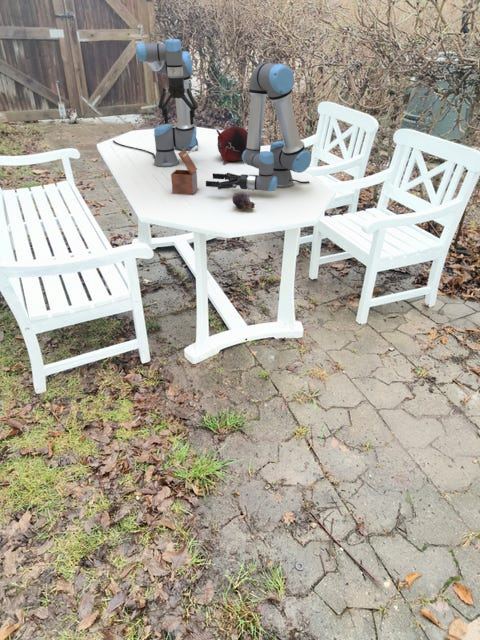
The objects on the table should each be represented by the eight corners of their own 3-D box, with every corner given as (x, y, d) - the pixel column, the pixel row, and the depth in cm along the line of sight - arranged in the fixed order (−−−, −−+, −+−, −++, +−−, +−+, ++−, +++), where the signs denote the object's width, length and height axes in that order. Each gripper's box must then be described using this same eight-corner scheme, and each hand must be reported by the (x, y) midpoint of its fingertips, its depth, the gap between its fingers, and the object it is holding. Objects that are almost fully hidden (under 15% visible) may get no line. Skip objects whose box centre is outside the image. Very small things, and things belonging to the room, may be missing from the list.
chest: (172, 193, 246) (170, 174, 240) (177, 188, 254) (176, 169, 248) (193, 194, 244) (191, 175, 238) (197, 189, 251) (196, 170, 246)
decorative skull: (214, 132, 305) (214, 129, 282) (248, 124, 304) (250, 121, 281) (221, 164, 312) (221, 164, 288) (254, 157, 311) (257, 156, 288)
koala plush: (198, 150, 320) (196, 121, 309) (173, 151, 319) (170, 122, 308) (198, 145, 335) (196, 116, 324) (174, 145, 334) (171, 117, 322)
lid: (177, 153, 233) (190, 145, 230) (183, 149, 241) (195, 141, 237) (190, 174, 238) (203, 167, 235) (195, 169, 245) (208, 162, 242)
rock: (245, 206, 232) (228, 209, 228) (244, 189, 228) (227, 192, 224) (257, 209, 223) (239, 213, 218) (256, 192, 219) (238, 195, 215)
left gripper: (148, 77, 216) (153, 124, 228) (198, 78, 212) (200, 126, 224) (154, 75, 222) (158, 121, 234) (202, 76, 218) (204, 123, 230)
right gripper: (243, 196, 231) (203, 194, 235) (252, 181, 251) (215, 179, 255) (242, 182, 227) (202, 179, 230) (252, 168, 247) (215, 166, 250)
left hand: (179, 123), depth 229 cm, fingers open, 13 cm apart
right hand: (209, 179), depth 243 cm, fingers open, 13 cm apart
